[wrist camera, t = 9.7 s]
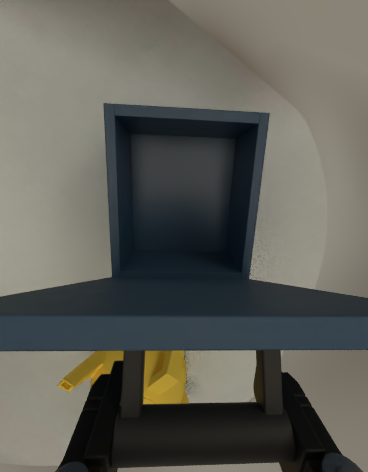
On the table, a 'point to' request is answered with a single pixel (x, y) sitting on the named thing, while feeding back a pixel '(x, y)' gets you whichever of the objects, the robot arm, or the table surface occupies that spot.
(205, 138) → the cool box
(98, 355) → the teapot
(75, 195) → the table surface
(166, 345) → the cool box lid
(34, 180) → the table surface
